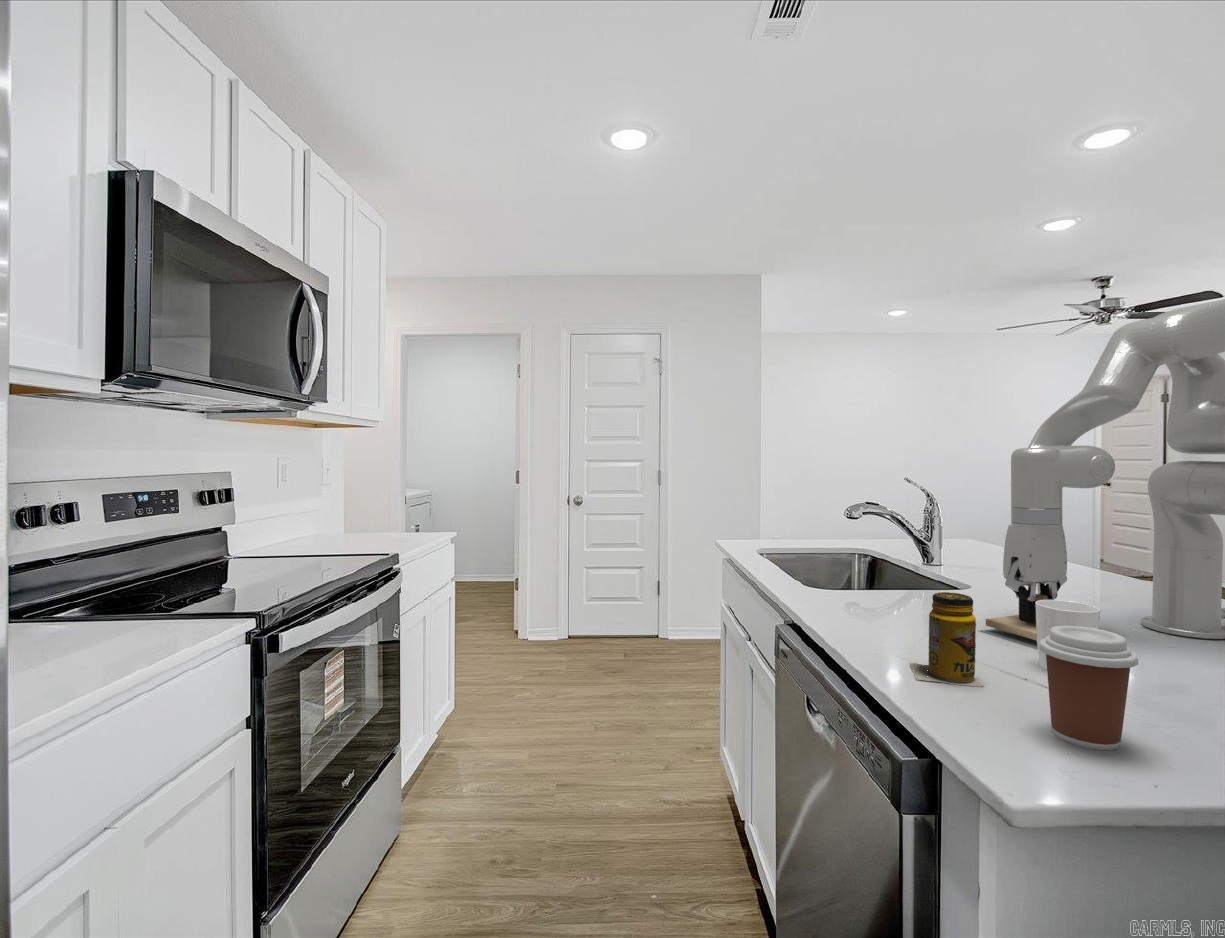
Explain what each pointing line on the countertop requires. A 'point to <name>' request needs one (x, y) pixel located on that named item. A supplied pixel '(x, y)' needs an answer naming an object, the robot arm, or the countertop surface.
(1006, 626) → the lid
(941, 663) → the condiment
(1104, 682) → the coffee cup
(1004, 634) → the mat
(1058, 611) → the white cup
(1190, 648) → the countertop surface
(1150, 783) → the countertop surface
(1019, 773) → the countertop surface
